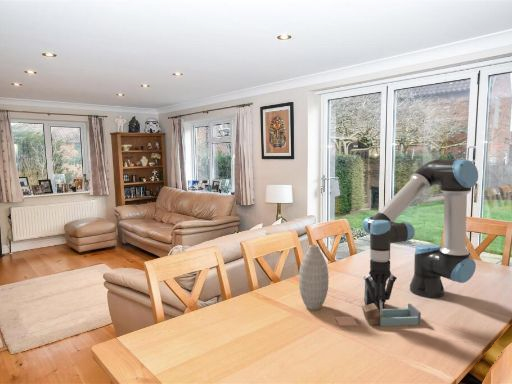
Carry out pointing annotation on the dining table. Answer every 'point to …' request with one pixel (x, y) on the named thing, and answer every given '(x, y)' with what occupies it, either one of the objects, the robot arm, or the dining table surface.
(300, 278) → the vase
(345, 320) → the tile
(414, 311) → the channel
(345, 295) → the dining table surface
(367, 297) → the small box
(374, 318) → the block
